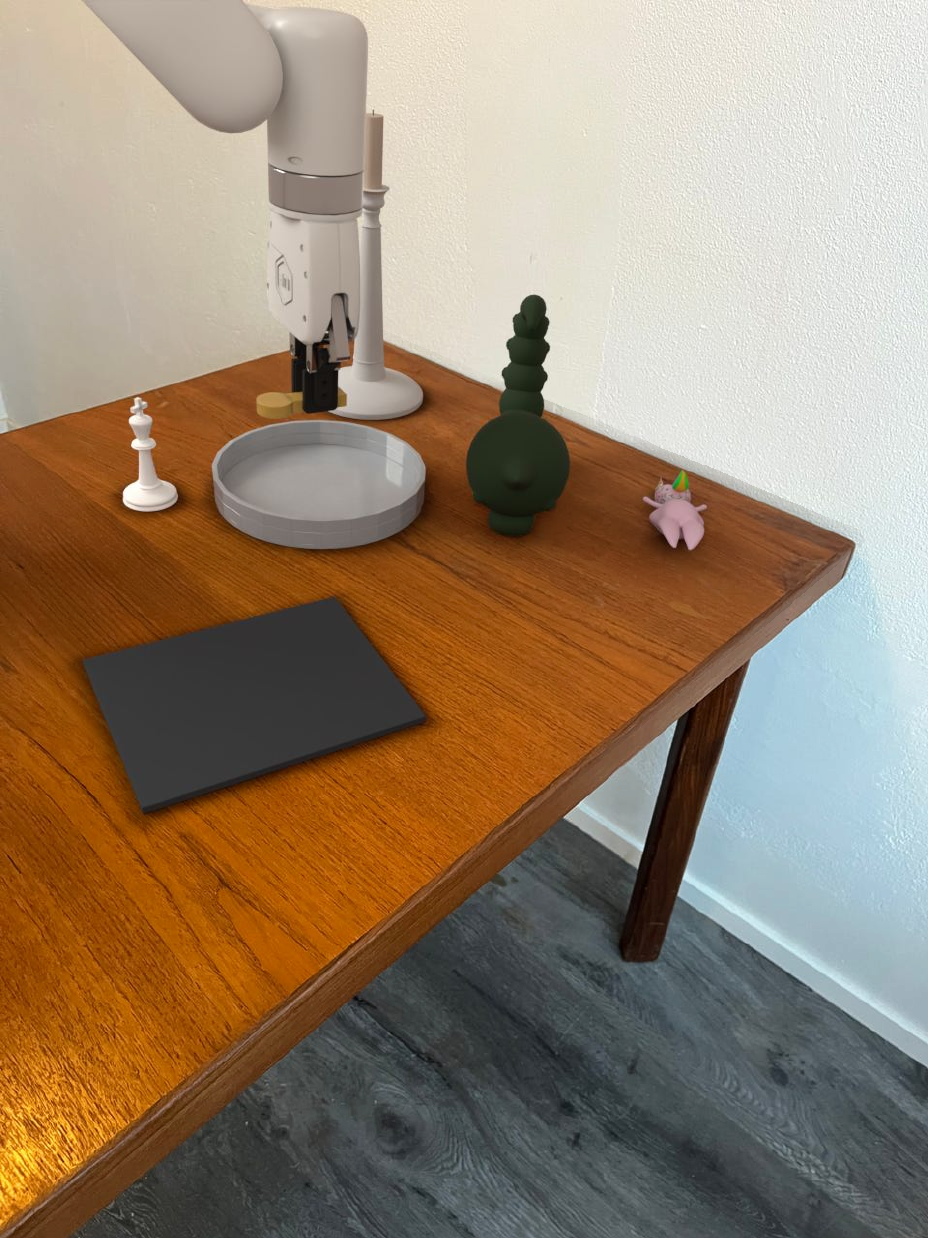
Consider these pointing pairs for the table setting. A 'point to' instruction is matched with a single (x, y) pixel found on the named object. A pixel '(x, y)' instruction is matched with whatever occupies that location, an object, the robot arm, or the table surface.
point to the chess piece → (146, 468)
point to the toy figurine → (520, 435)
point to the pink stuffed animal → (677, 513)
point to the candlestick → (374, 309)
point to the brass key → (286, 404)
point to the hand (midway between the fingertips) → (314, 403)
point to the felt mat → (245, 700)
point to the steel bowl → (318, 484)
